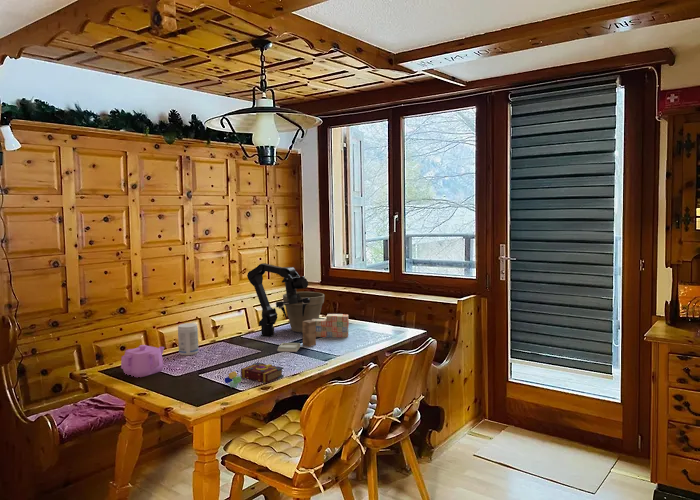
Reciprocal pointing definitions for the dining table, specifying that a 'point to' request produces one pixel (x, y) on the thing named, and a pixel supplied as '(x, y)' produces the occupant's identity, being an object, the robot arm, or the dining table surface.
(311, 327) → the walnut post
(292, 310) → the plant pot
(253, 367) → the decorative book
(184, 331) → the supplement tub
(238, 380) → the dice
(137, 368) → the teakettle
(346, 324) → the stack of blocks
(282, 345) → the cream square tray
